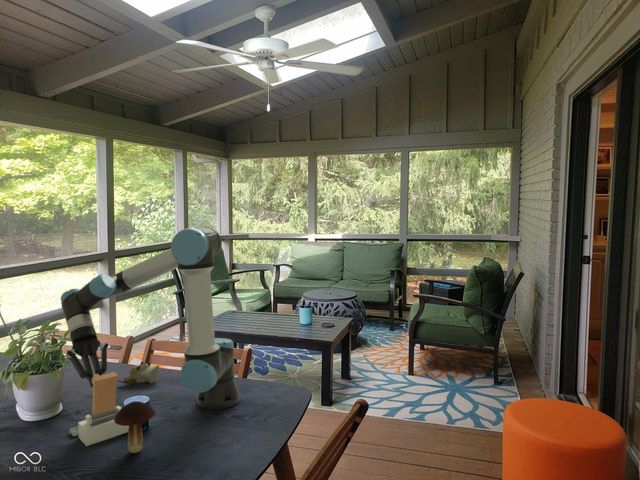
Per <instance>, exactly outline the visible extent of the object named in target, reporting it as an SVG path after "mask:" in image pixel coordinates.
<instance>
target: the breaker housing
mask: <svg viewBox="0 0 640 480" xmlns="http://www.w3.org/2000/svg"><path fill="white" fill-rule="evenodd" d="M116 408H117V413H118V412H119V411H120V410H121V409H122V408H123V407H122V406H120V405H117V406H116ZM117 413H114V414H111V415H108V416H105V417H101V418H98V419H95V420H92V417H91V414H86V415H85V420H81V421H77V426H74V427H71V428H70V429H69V431H68V432H69V434H70V435H71V436H72V437H77V436H78V439H79V440H80V441H81V442H82V443H83V444H84V446H85V447H88V446H91V444H92V445H94V444H96V443H100V442H103V441H106V440H110V439H112V438H114V437H118V436H120V435H123V434H126V433H127V434H128V429H129V426H122V425H118V424H116V423H115V422H114V420H115V417H116V415H117Z"/></svg>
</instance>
